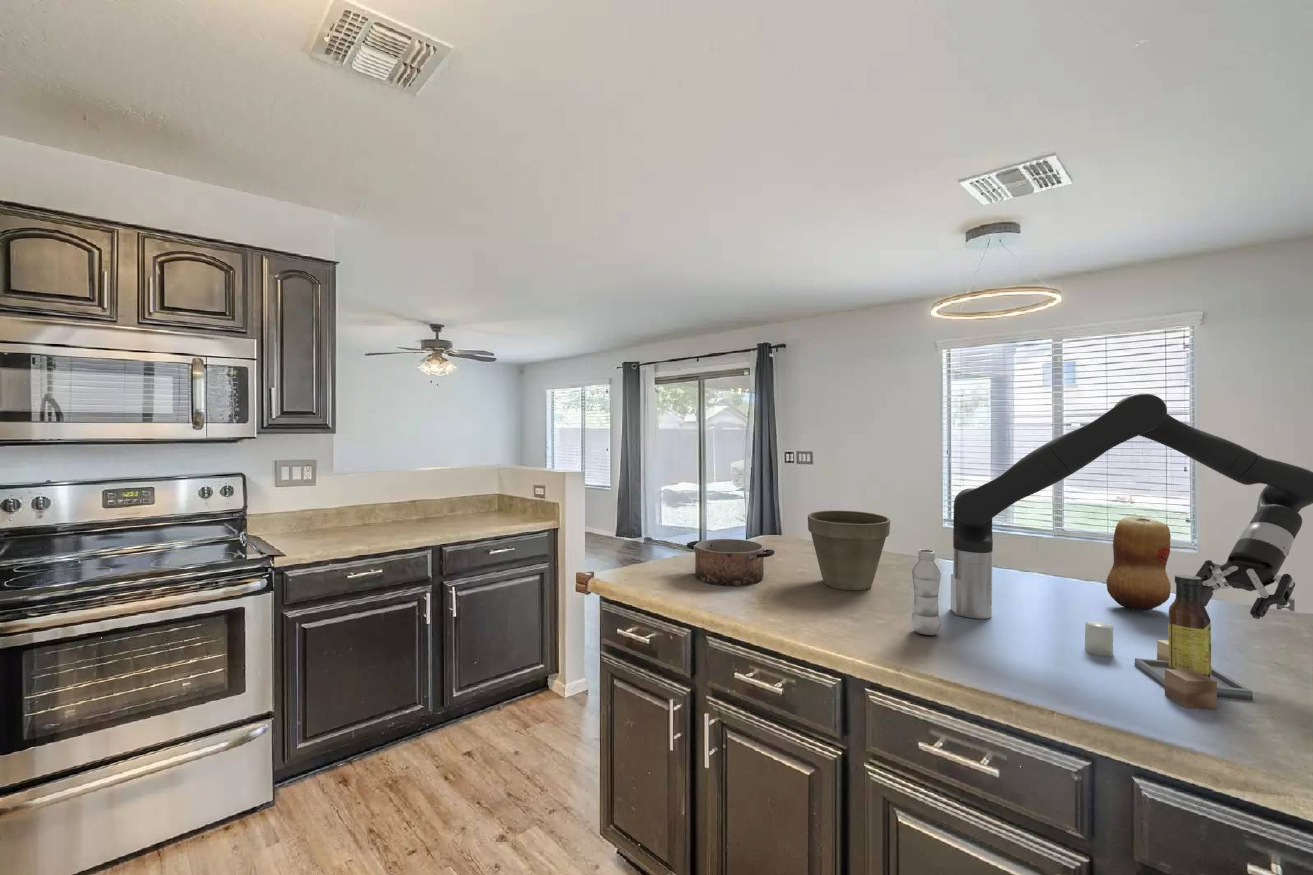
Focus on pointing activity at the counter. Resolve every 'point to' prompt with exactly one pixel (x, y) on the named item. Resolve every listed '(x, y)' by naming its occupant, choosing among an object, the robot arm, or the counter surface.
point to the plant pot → (848, 546)
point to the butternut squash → (1140, 564)
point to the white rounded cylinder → (1099, 638)
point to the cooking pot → (729, 561)
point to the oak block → (1162, 650)
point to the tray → (1224, 683)
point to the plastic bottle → (926, 594)
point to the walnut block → (1191, 689)
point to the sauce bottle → (1189, 628)
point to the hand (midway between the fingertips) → (1226, 609)
